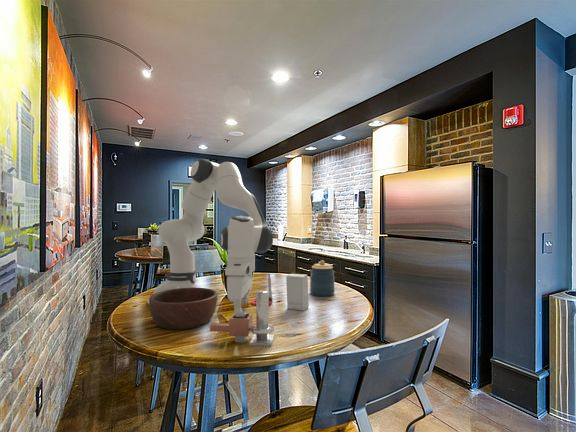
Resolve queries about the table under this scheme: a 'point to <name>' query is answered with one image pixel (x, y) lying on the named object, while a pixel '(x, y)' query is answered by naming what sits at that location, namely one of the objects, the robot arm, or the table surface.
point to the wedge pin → (241, 315)
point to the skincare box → (297, 291)
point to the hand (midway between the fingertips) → (241, 307)
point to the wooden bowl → (183, 307)
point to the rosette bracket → (245, 324)
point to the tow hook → (268, 290)
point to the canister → (322, 280)
